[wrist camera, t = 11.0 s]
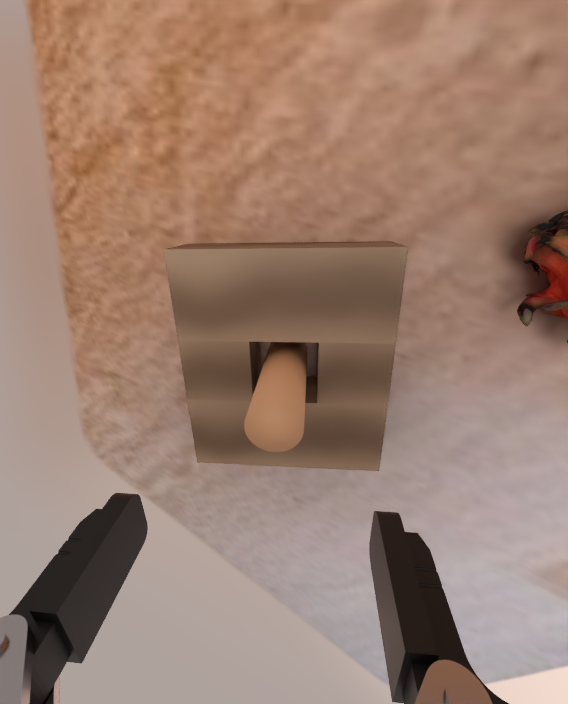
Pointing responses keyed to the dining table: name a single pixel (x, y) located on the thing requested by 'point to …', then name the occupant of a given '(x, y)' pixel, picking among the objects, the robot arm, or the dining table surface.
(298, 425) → the peg
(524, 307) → the dragon fruit
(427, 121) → the dining table surface
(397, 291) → the hole block
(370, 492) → the dining table surface
